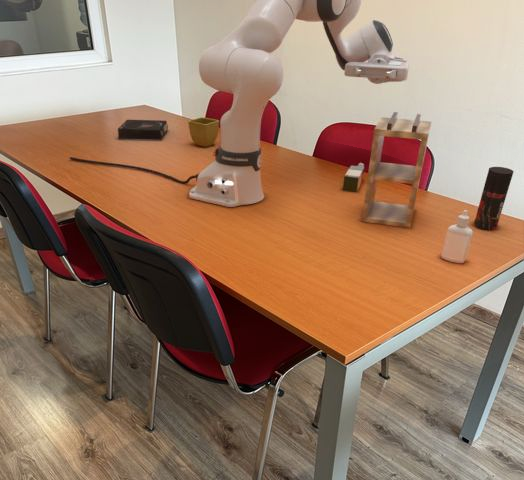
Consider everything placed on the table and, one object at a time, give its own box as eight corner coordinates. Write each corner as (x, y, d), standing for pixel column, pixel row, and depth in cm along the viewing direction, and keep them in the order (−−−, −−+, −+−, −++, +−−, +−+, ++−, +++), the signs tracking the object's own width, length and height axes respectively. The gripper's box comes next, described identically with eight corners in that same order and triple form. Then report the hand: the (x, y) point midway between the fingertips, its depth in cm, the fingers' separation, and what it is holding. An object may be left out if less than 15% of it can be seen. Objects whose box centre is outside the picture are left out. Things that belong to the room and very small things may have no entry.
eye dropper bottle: (454, 265, 120) (467, 216, 113) (437, 256, 124) (449, 208, 117) (468, 262, 122) (482, 213, 115) (451, 253, 126) (463, 205, 119)
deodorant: (494, 231, 137) (511, 175, 128) (471, 226, 140) (486, 171, 131) (498, 224, 141) (515, 169, 132) (476, 220, 144) (491, 165, 135)
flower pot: (220, 144, 202) (219, 120, 197) (206, 149, 196) (205, 124, 191) (202, 141, 206) (201, 117, 201) (188, 145, 200) (187, 120, 195)
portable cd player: (161, 140, 205) (160, 130, 203) (119, 139, 205) (117, 128, 203) (168, 130, 219) (167, 120, 216) (128, 129, 219) (127, 119, 216)
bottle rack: (361, 221, 141) (375, 122, 126) (368, 204, 152) (382, 111, 137) (409, 228, 138) (429, 127, 123) (413, 210, 149) (432, 115, 134)
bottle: (356, 191, 161) (358, 177, 158) (342, 190, 162) (344, 175, 159) (366, 173, 176) (368, 160, 174) (353, 172, 177) (355, 158, 175)
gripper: (349, 55, 172) (341, 60, 161) (411, 59, 167) (408, 64, 156) (347, 76, 175) (339, 83, 165) (408, 81, 170) (404, 87, 160)
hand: (373, 74), depth 160 cm, fingers open, 8 cm apart
